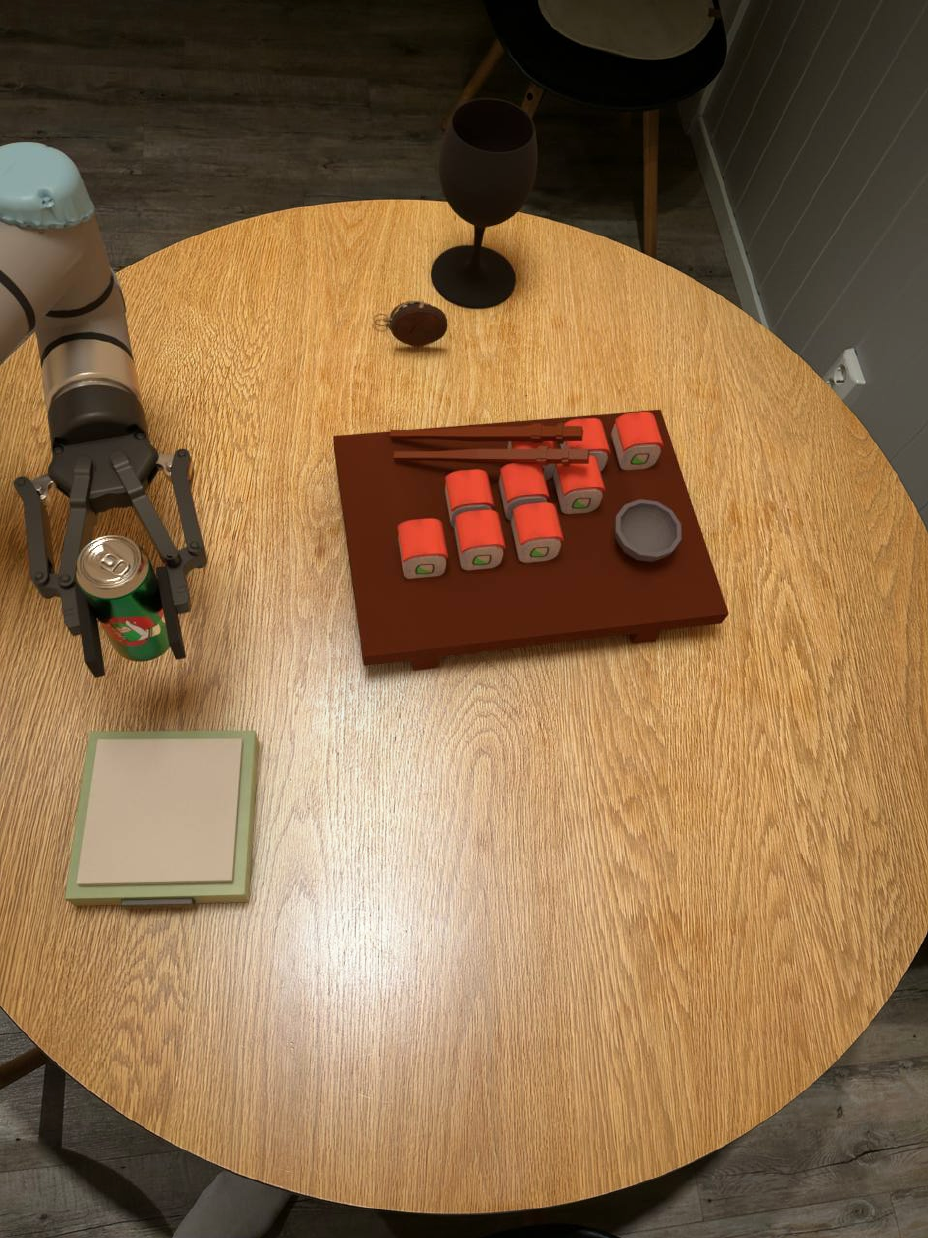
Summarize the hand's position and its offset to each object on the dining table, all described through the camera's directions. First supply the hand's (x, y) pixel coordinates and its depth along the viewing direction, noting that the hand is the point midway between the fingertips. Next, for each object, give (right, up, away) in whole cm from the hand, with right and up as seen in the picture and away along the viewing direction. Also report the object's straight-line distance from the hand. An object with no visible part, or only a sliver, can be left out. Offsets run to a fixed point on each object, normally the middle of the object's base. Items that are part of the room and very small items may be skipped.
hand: (136, 659), depth 68 cm
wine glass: (+25, +44, +46) cm, 68 cm away
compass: (+17, +36, +41) cm, 57 cm away
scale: (-2, -14, +13) cm, 19 cm away
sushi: (+29, +10, +29) cm, 42 cm away
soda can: (-2, +1, +8) cm, 9 cm away
